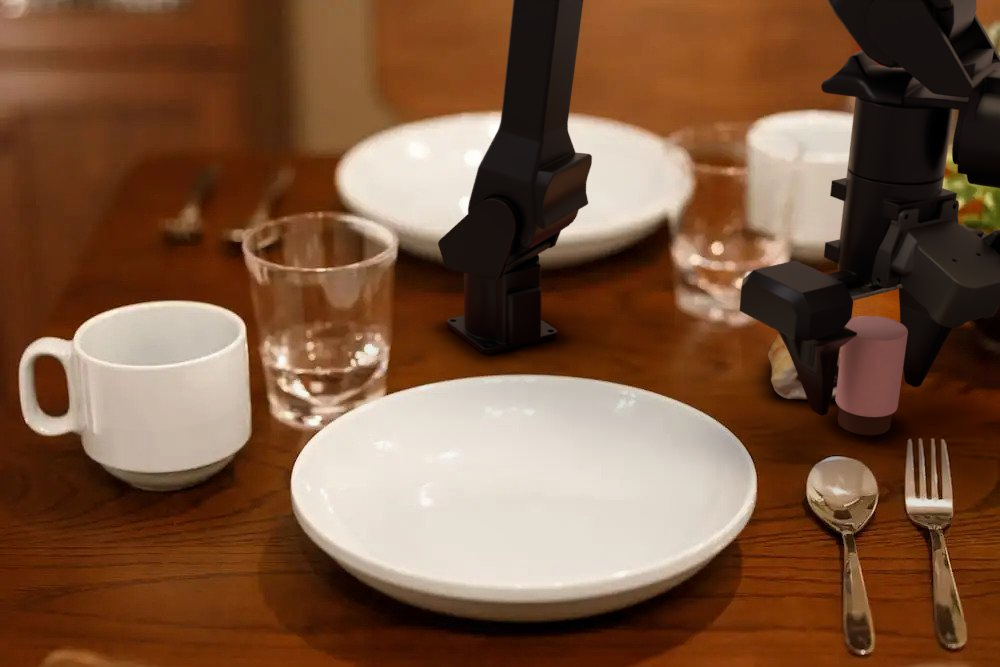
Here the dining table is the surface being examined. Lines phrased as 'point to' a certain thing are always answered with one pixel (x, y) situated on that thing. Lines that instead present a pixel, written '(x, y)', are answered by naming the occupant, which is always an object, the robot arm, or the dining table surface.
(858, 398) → the bottle
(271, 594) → the dining table surface
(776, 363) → the pastry
